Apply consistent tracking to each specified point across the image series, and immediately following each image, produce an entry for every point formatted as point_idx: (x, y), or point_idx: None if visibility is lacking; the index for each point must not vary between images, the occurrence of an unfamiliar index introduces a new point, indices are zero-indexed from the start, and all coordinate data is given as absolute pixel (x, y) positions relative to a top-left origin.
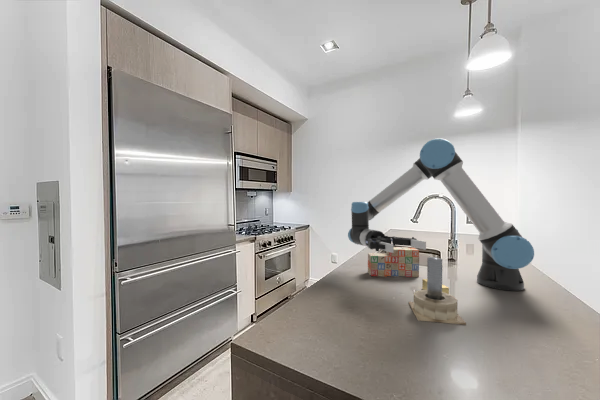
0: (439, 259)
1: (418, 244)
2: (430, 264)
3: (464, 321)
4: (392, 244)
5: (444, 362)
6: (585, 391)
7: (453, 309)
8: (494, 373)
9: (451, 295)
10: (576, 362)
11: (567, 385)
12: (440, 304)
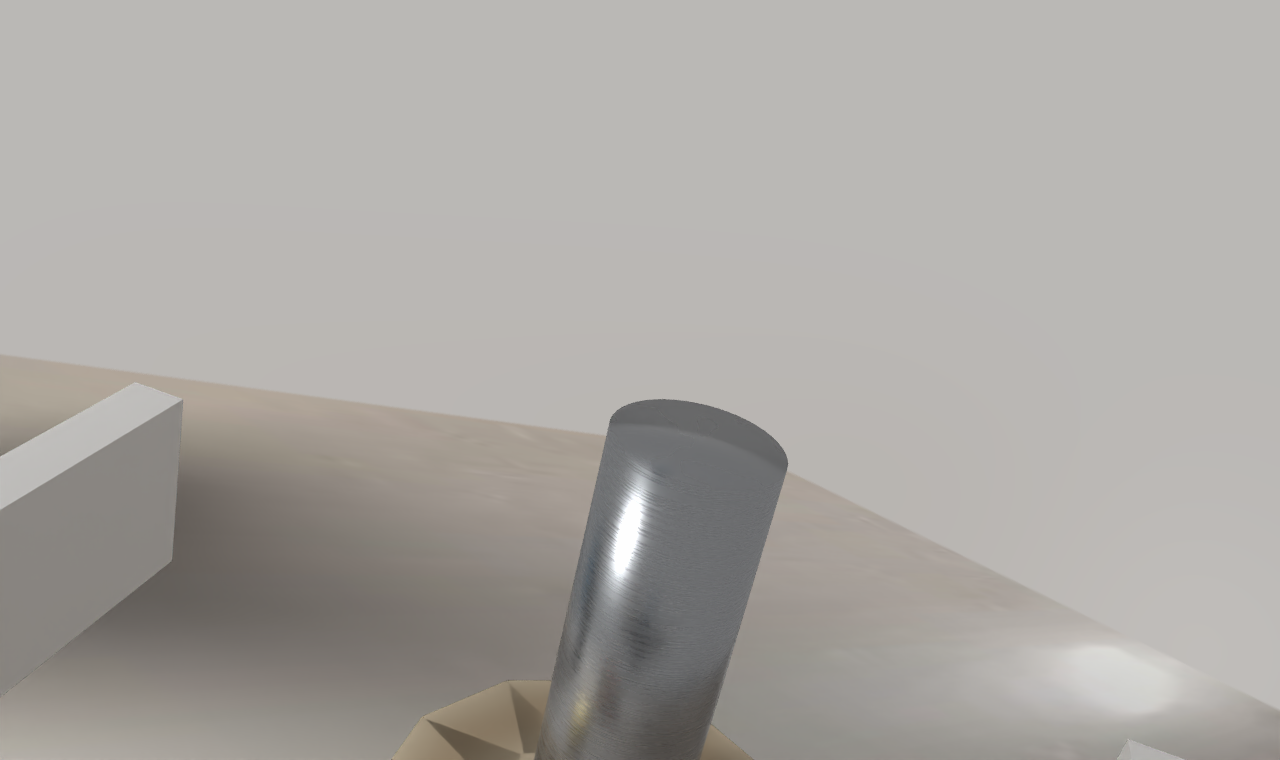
0: (694, 413)
1: (40, 579)
2: (770, 523)
3: None
4: (1159, 750)
5: (1115, 743)
6: None
7: None
8: (957, 614)
9: (415, 731)
10: (566, 453)
11: None
12: (741, 752)
